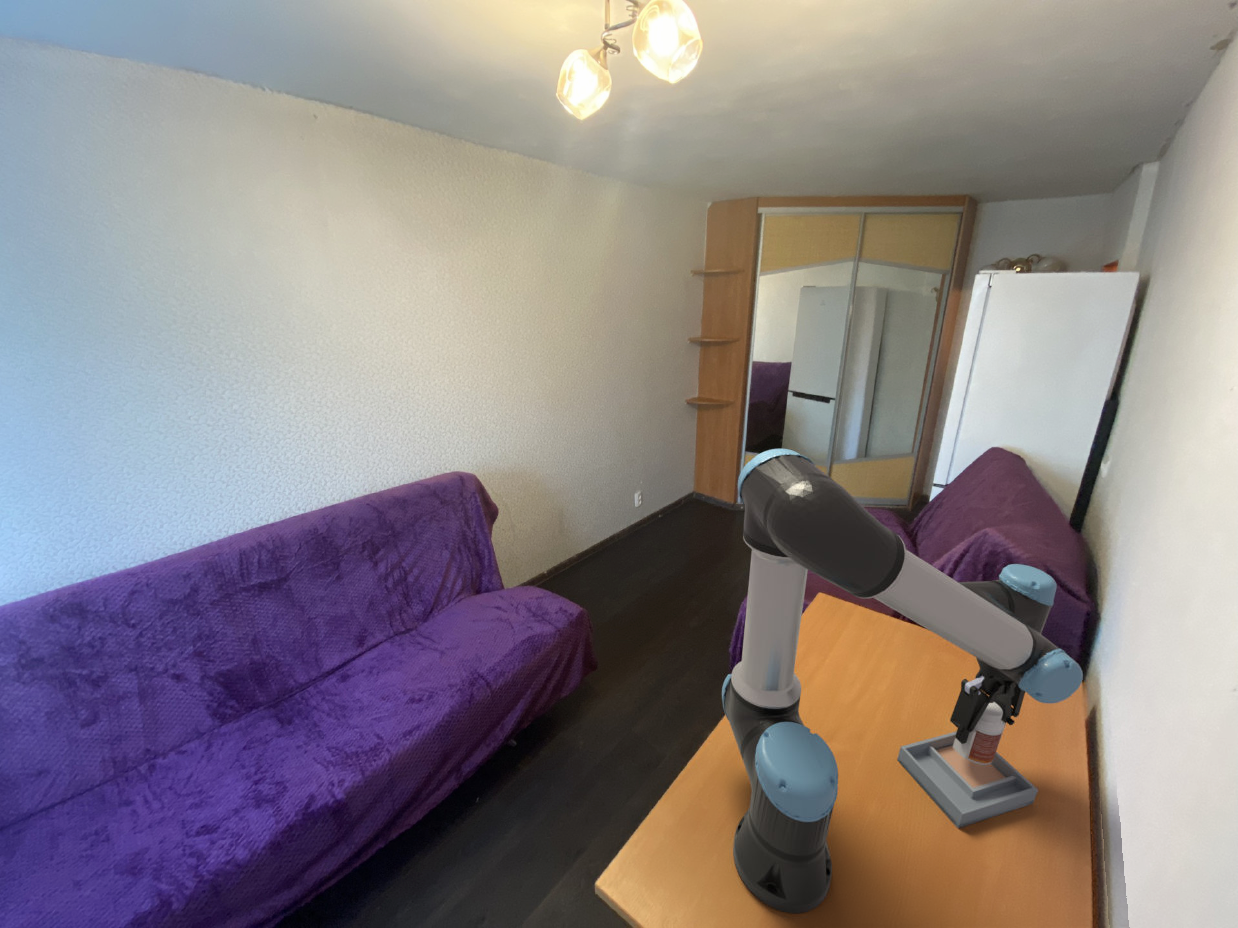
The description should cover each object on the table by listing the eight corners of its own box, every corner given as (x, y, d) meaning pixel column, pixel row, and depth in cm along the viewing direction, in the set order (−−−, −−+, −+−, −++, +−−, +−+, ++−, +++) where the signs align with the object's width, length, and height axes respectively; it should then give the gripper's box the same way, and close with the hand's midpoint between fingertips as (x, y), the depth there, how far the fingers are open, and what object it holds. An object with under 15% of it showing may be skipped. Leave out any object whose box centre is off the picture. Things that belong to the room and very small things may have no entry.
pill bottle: (999, 756, 99) (1014, 710, 95) (983, 772, 96) (999, 725, 92) (964, 733, 104) (977, 689, 100) (948, 747, 101) (961, 702, 97)
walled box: (957, 828, 91) (962, 814, 89) (897, 759, 103) (900, 746, 102) (1032, 803, 95) (1038, 789, 94) (965, 740, 108) (969, 727, 106)
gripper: (982, 674, 86) (950, 778, 94) (1069, 653, 91) (1032, 753, 99) (944, 645, 92) (917, 743, 100) (1027, 626, 97) (995, 722, 105)
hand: (974, 748), depth 100 cm, fingers closed on pill bottle, 6 cm apart
